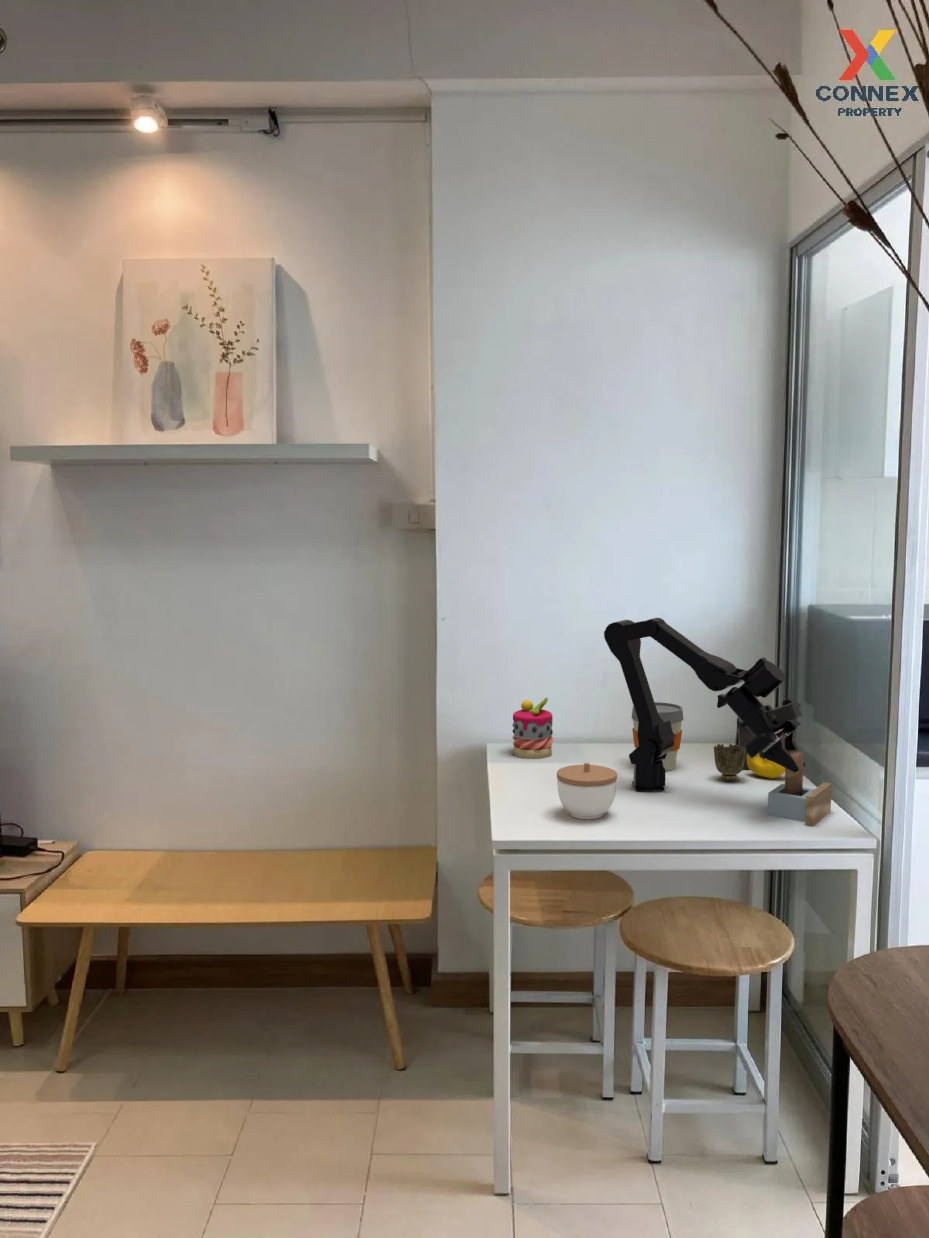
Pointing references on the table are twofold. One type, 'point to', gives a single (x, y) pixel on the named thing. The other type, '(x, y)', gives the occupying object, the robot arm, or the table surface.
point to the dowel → (794, 775)
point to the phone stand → (744, 740)
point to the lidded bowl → (586, 790)
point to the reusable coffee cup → (675, 717)
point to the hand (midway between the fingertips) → (800, 768)
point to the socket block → (787, 803)
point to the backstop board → (818, 804)
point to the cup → (729, 760)
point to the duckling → (764, 767)
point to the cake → (532, 731)
